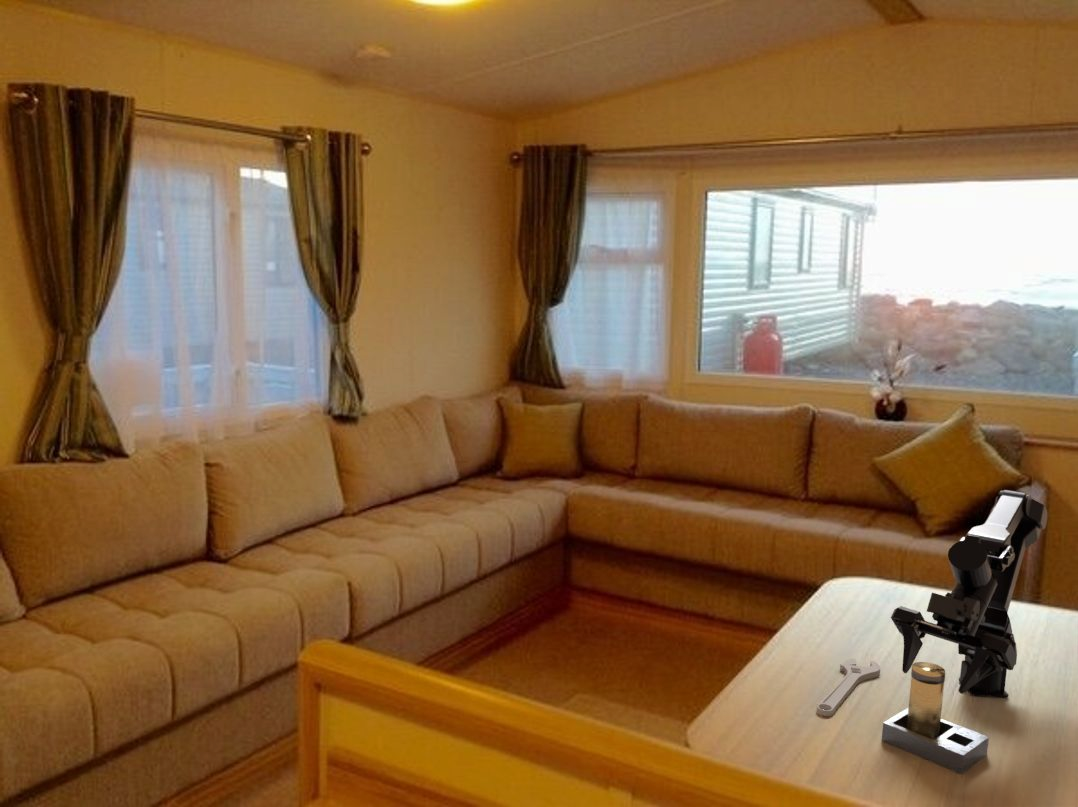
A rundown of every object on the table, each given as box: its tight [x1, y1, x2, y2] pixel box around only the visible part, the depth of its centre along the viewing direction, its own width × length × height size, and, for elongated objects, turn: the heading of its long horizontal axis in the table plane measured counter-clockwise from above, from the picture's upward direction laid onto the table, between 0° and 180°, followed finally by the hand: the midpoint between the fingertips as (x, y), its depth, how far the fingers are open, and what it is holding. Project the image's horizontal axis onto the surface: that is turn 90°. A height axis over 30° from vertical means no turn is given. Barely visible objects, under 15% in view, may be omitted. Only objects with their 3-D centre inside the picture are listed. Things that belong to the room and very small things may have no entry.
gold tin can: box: [907, 661, 946, 740], centre depth 146 cm, size 5×5×12 cm
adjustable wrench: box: [816, 658, 881, 717], centre depth 166 cm, size 25×6×2 cm, turn 140°
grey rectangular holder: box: [881, 706, 990, 775], centre depth 146 cm, size 13×9×3 cm
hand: (931, 682), depth 147 cm, fingers open, 9 cm apart
